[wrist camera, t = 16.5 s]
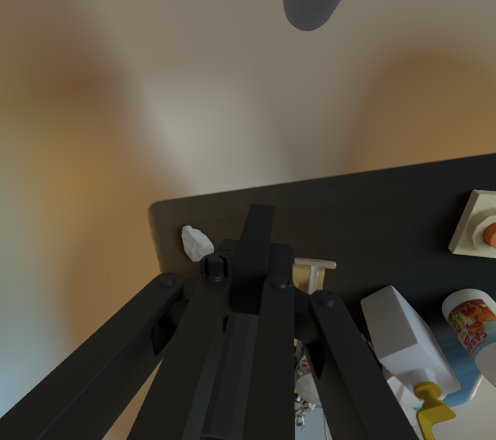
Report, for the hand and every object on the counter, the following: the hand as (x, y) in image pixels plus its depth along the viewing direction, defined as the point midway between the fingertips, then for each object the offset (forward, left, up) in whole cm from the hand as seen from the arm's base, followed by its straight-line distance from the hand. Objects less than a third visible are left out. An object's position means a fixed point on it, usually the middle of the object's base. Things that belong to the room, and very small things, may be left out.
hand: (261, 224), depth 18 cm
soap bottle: (+30, +24, -26) cm, 46 cm away
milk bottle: (+26, +35, -27) cm, 51 cm away
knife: (+39, +25, -26) cm, 53 cm away
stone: (+19, -13, -27) cm, 35 cm away
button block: (+10, +32, -26) cm, 43 cm away
